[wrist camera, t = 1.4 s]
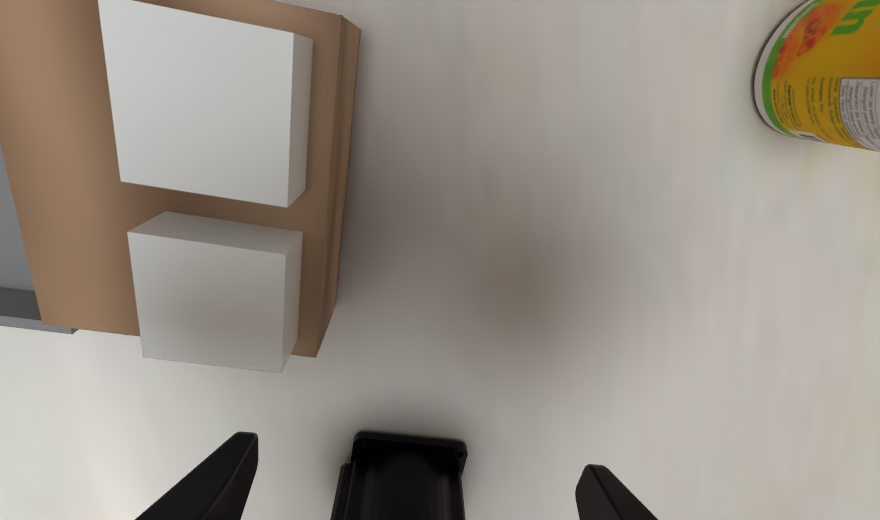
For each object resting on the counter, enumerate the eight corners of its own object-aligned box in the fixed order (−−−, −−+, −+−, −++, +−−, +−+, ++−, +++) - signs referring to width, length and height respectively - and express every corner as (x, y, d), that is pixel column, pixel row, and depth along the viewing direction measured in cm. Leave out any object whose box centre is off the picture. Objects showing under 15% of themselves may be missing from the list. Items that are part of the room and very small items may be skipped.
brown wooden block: (360, 29, 15) (341, 15, 12) (334, 306, 20) (315, 357, 17) (70, -31, 14) (-50, -67, 11) (115, 276, 19) (42, 324, 15)
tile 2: (313, 39, 12) (293, 32, 10) (304, 190, 14) (287, 207, 12) (148, 6, 12) (96, -8, 10) (162, 166, 13) (120, 181, 11)
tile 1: (302, 232, 14) (285, 255, 13) (297, 339, 16) (281, 373, 14) (165, 211, 14) (127, 231, 12) (175, 324, 16) (142, 357, 14)
